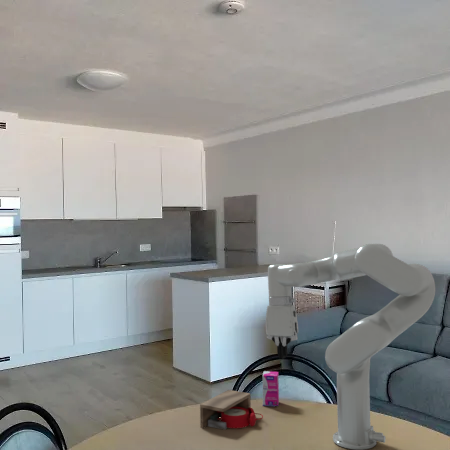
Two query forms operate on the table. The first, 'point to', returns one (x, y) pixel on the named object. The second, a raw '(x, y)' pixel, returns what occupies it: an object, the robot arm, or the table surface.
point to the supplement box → (270, 388)
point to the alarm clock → (239, 417)
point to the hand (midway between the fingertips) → (282, 357)
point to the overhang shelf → (222, 407)
